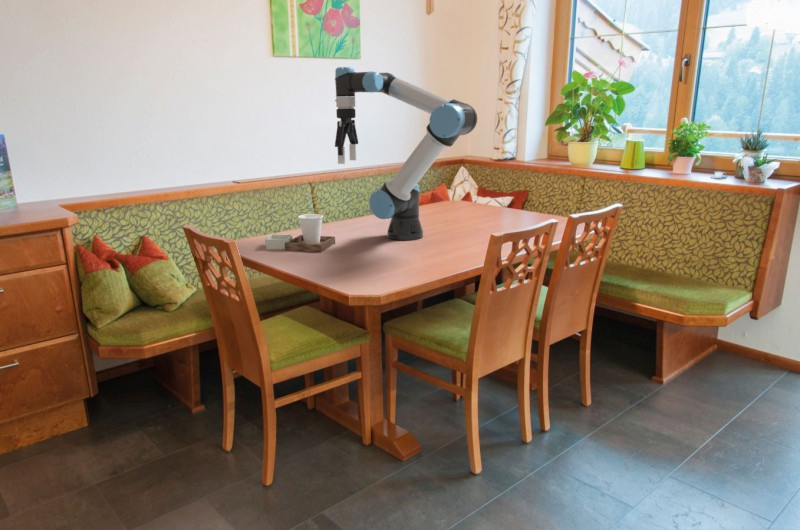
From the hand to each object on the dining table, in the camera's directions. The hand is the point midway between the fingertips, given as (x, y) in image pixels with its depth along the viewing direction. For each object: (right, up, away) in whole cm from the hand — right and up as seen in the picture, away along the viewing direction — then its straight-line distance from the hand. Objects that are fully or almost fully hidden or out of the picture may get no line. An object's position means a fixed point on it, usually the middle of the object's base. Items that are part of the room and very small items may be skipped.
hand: (347, 162), depth 246 cm
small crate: (-27, -35, -5) cm, 44 cm away
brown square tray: (-14, -35, -6) cm, 38 cm away
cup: (-14, -33, -3) cm, 36 cm away
